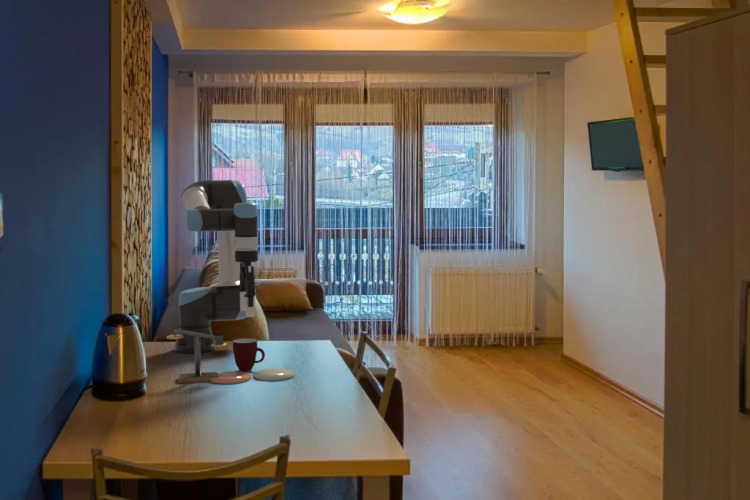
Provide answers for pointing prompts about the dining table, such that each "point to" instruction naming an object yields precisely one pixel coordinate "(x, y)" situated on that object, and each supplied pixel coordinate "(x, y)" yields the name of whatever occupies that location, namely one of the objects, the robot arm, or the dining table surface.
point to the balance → (198, 356)
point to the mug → (246, 353)
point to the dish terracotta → (231, 377)
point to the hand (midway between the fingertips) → (247, 313)
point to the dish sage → (274, 374)
